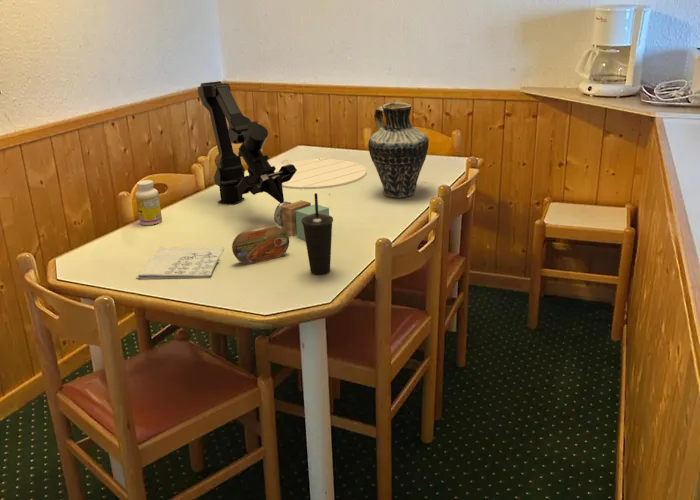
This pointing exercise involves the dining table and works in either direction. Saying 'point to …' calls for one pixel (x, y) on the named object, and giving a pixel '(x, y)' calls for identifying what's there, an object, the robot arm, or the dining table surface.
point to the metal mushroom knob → (280, 213)
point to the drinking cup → (318, 240)
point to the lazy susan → (322, 173)
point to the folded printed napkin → (181, 263)
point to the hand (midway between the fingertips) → (282, 202)
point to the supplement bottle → (148, 203)
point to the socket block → (305, 212)
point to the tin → (260, 244)
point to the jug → (397, 149)
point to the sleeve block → (292, 216)
